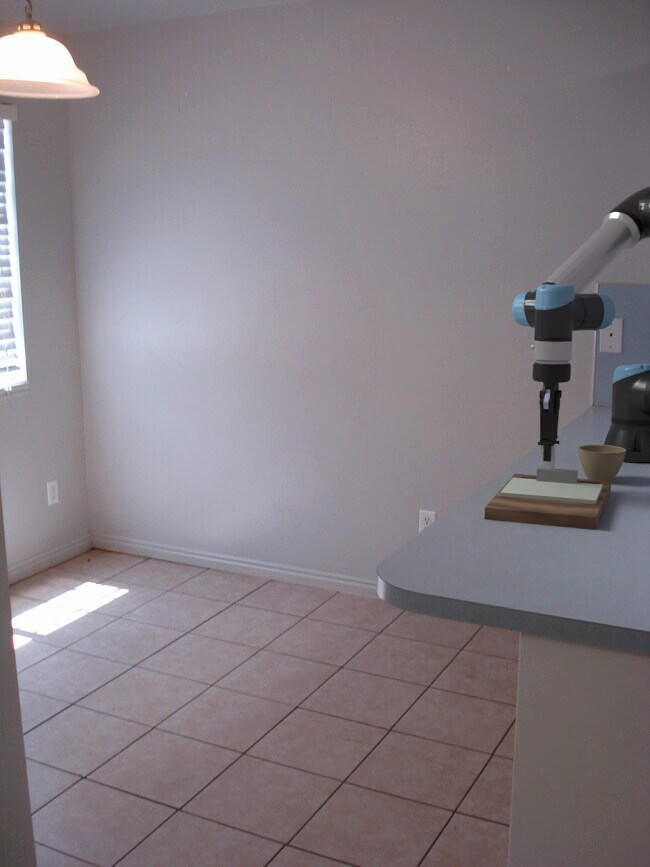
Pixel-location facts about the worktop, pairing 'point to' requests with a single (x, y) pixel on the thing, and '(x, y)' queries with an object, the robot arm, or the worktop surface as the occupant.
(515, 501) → the wooden box
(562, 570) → the worktop surface
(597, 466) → the flower pot
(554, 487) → the lid
